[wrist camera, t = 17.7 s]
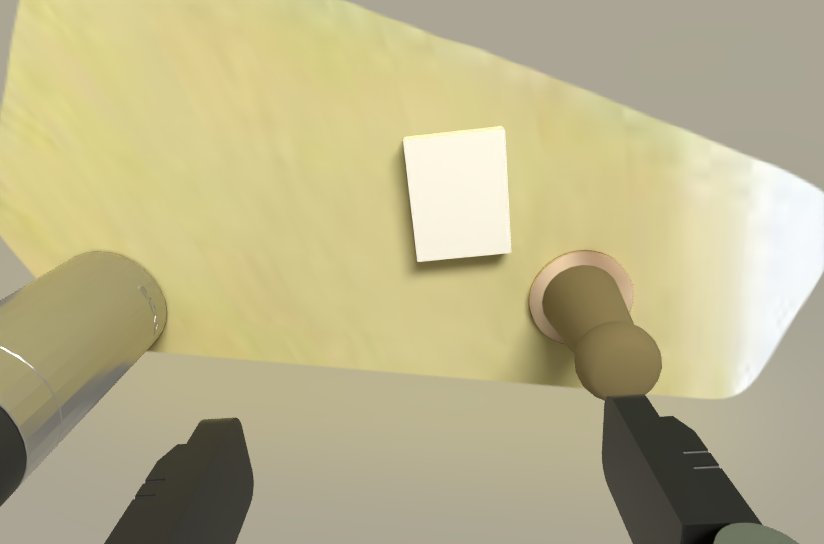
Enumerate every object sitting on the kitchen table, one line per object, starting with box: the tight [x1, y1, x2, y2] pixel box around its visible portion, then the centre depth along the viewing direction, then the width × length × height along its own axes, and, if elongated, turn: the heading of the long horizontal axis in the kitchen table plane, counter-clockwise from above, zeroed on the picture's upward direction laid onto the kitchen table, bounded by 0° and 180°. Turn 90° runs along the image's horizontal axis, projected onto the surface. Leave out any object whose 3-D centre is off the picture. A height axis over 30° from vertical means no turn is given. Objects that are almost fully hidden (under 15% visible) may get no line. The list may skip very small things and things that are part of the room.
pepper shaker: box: [542, 265, 662, 400], centre depth 39 cm, size 6×6×11 cm
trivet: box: [529, 250, 634, 344], centre depth 44 cm, size 8×8×1 cm
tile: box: [403, 126, 511, 262], centre depth 41 cm, size 7×2×9 cm
